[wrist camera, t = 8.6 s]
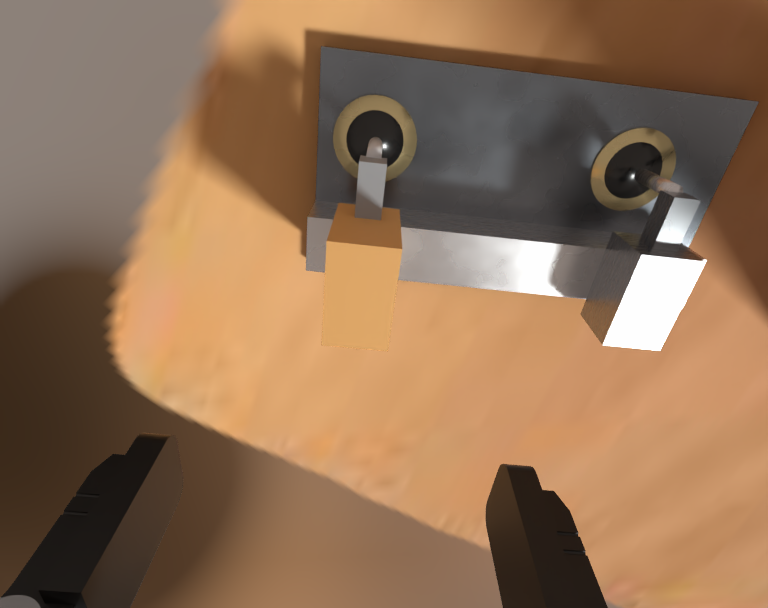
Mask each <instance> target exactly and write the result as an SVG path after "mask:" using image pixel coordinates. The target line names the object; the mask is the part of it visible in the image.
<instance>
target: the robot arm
mask: <svg viewBox="0 0 768 608" xmlns="http://www.w3.org/2000/svg"><path fill="white" fill-rule="evenodd" d="M182 488H183V472H182V466H181V460H180V454H179V448H178V442H177V438H176V437H175V436H174V435H163V434H151V433H141V434H140V435H139V436H138V437H137V438H136V439H135V441H134V442H133V444H132V445H131V447H130V448H129V450H128V451H127V453H126V454H125V455H119V454H112V455H111V456H110V457H109V458H108V459H106V460H105V461H104V462H102V463H101V464H100V465H99V466H98V467H96V468H95V469H94V470H92V471H91V473H90V474H89V475H88V477H87V478H86V480H85V481H84V483H83V484H82V485H81V487H80V488H79V490H78V491H77V494H76V496H75V497H73V498H72V500H71V501H70V503H69V504H68V505H67V507H66V508H65V510H64V514H63V515H60V517H59V518H58V520H57V521H56V523H55V524H54V525H53V527H52V528H51V530H50V531H49V533H48V534H47V536H46V537H45V538H44V540H43V541H42V543H41V544H40V545H39V547H38V548H37V550H36V551H35V553H34V554H33V556H32V557H31V558H30V560H29V561H28V563H27V564H26V565H25V567H24V568H23V570H22V571H21V573H20V574H19V575H18V577H17V578H16V580H15V581H14V583H13V584H12V585H11V586H10V588H9V589H8V590H7V591H6V593H4V595H3V596H2V597H1V598H0V608H130V607H131V604H132V602H133V600H134V598H135V596H136V594H137V592H138V589H139V587H140V585H141V583H142V580H143V578H144V576H145V574H146V572H147V570H148V568H149V565H150V563H151V561H152V559H153V557H154V555H155V552H156V550H157V548H158V546H159V544H160V541H161V539H162V537H163V535H164V533H165V531H166V528H167V526H168V524H169V522H170V520H171V518H172V515H173V513H174V511H175V509H176V507H177V505H178V502H179V500H180V496H181V493H182ZM486 527H487V532H488V537H489V542H490V547H491V552H492V556H493V561H494V566H495V571H496V576H497V580H498V585H499V591H500V596H501V600H502V605H503V608H608V607H607V605H606V602H605V600H604V597H603V595H602V592H601V589H600V587H599V584H598V582H597V579H596V577H595V574H594V572H593V569H592V567H591V564H590V561H589V559H588V556H586V555H585V549H584V546H583V544H582V541H581V538H580V537H578V531H577V528H576V526H575V523H574V521H573V518H572V515H571V513H570V511H569V509H568V508H567V507H566V506H565V504H564V503H563V502H562V501H561V499H560V498H559V497H558V496H557V494H556V493H555V492H554V491H547V490H542V488H541V485H540V482H539V479H538V477H537V474H536V471H535V470H534V468H533V467H531V466H520V465H508V464H501V465H500V467H499V469H498V472H497V475H496V478H495V481H494V484H493V486H492V489H491V492H490V495H489V498H488V501H487V505H486Z"/></svg>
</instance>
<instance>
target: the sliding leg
mask: <svg viewBox="0 0 768 608" xmlns="http://www.w3.org/2000/svg"><path fill="white" fill-rule="evenodd" d="M386 170H387V158H382V141H381V139H380V138H378V137H373V138H371V139H370V141H369V144H368V149H367V154H366V156H362V155H361V156H360V160H359V168H358V181H357V193H356V205H355V204H346V203H338V206H337V210H336V213H335V216H334V219H333V222H332V225H331V229H330V232H329V235H328V238H327V242H326V262H325V282H324V302H323V322H322V342H321V345H324V346H335V347H345V348H356V349H366V350H377V351H388V348H389V341H390V334H391V327H392V320H393V313H394V305H395V298H396V291H397V284H398V277H399V270H400V263H401V256H402V236H401V222H400V209H391V208H382V206H383V197H384V188H385V179H386Z"/></svg>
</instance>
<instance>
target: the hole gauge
mask: <svg viewBox="0 0 768 608" xmlns="http://www.w3.org/2000/svg"><path fill="white" fill-rule="evenodd" d="M758 103H759V102H757V101H750V100H743V99H735V98H728V97H720V96H712V95H704V94H696V93H688V92H680V91H672V90H664V89H657V88H649V87H641V86H633V85H625V84H617V83H609V82H601V81H593V80H585V79H578V78H570V77H562V76H554V75H546V74H538V73H530V72H522V71H514V70H507V69H499V68H491V67H483V66H475V65H467V64H459V63H451V62H443V61H435V60H428V59H420V58H412V57H404V56H396V55H388V54H380V53H372V52H364V51H357V50H349V49H341V48H333V47H325V46H321V63H320V92H319V120H318V149H317V177H316V200H315V202H314V204H313V206H312V208H311V210H310V212H309V215H308V217H307V251H306V270H307V271H316V272H325V262H326V242H327V238H328V235H329V232H330V229H331V225H332V222H333V219H334V216H335V213H336V210H337V206H338V203H346V204H355V205H356V193H357V181H358V168H359V160H360V156H361V155H362V156H366V154H367V149H368V144H369V141H370V139H371V138H373V137H378V138H380V139H381V141H382V158H387V170H386V179H385V188H384V197H383V206H382V208H391V209H400V222H401V236H402V256H401V263H400V270H399V277H398V280H404V281H414V282H424V283H433V284H443V285H453V286H463V287H472V288H482V289H492V290H502V291H511V292H521V293H531V294H541V295H550V296H560V297H570V298H580V299H586V302H585V304H584V307H583V309H582V312H581V316H582V317H583V318H584V320H585V321H586V323H587V324H588V325H589V327H590V328H591V330H592V331H593V332H594V334H595V335H596V337H597V338H598V339H599V341H600V342H601V343H602V345H607V346H617V347H627V348H638V349H648V350H658V351H660V349H661V347H662V345H663V343H664V341H665V339H666V337H667V336H668V334H669V332H670V330H671V328H672V326H673V324H674V322H675V320H676V318H677V316H678V314H679V312H680V310H681V309H682V308H683V306H684V304H685V302H686V300H687V298H688V296H689V294H690V292H691V290H692V288H693V286H694V285H695V283H696V281H697V279H698V277H699V275H700V273H701V271H702V269H703V267H704V265H705V263H706V261H707V260H706V259H705V258H703V257H702V256H700V255H699V254H697V253H696V252H694V251H693V250H691V249H690V248H688V247H689V245H690V243H691V241H692V239H693V237H694V235H695V233H696V231H697V229H698V227H699V225H700V223H701V221H702V219H703V216H704V214H705V212H706V210H707V208H708V206H709V204H710V202H711V200H712V198H713V196H714V194H715V192H716V190H717V187H718V185H719V183H720V181H721V179H722V177H723V175H724V173H725V171H726V169H727V167H728V165H729V163H730V161H731V158H732V156H733V154H734V152H735V150H736V148H737V146H738V144H739V142H740V140H741V138H742V136H743V134H744V132H745V130H746V127H747V125H748V123H749V121H750V119H751V117H752V115H753V113H754V111H755V109H756V107H757V105H758Z"/></svg>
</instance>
